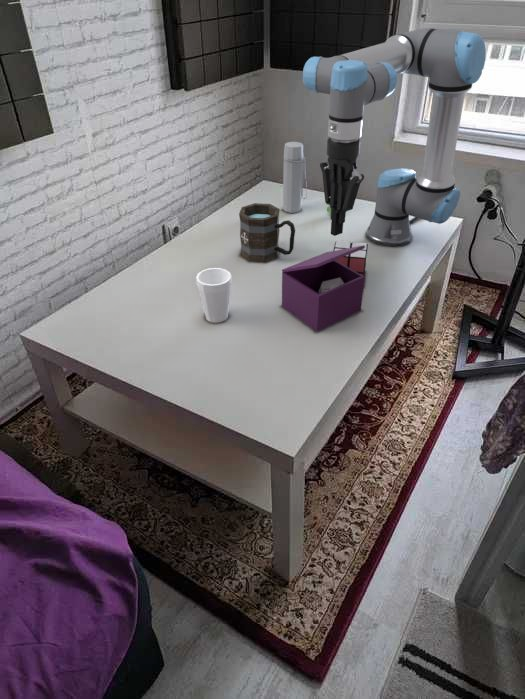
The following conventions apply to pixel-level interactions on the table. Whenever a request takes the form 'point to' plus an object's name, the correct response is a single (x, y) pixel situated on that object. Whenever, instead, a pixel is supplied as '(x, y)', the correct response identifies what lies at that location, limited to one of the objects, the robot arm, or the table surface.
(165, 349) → the table surface
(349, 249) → the lid
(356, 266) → the puzzle cube
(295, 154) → the water bottle
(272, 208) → the mug
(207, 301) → the foam cup
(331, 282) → the die
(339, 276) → the open box
